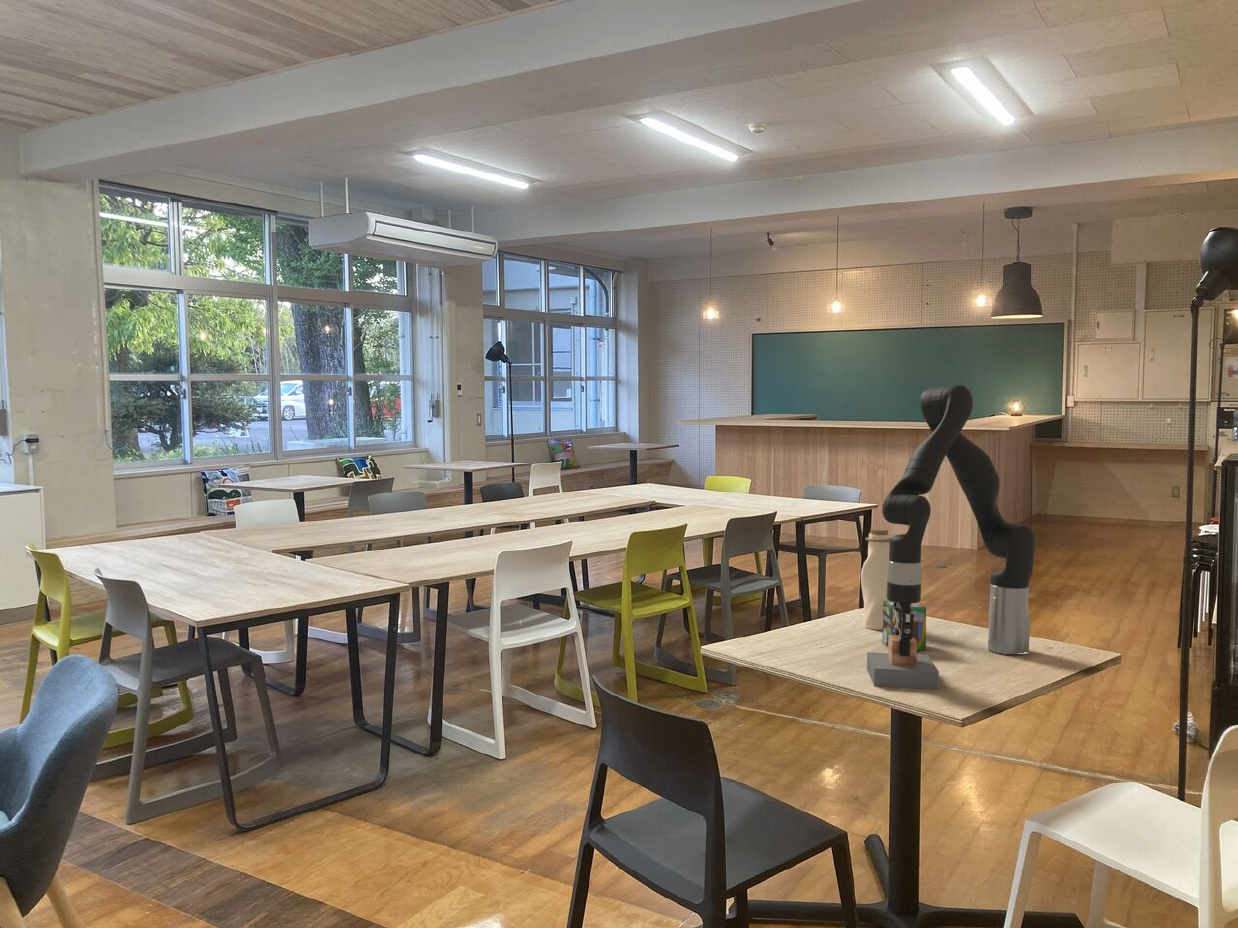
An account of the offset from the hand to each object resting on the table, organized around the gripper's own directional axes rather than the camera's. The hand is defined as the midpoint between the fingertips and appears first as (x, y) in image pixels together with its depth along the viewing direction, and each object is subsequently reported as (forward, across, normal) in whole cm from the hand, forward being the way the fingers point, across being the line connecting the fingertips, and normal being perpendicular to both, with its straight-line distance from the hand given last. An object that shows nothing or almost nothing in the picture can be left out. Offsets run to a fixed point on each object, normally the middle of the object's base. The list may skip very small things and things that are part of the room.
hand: (902, 651), depth 219 cm
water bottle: (+7, +52, -1) cm, 52 cm away
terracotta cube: (+2, 0, 0) cm, 2 cm away
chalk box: (+7, +30, -5) cm, 31 cm away
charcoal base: (+6, 0, 0) cm, 6 cm away
